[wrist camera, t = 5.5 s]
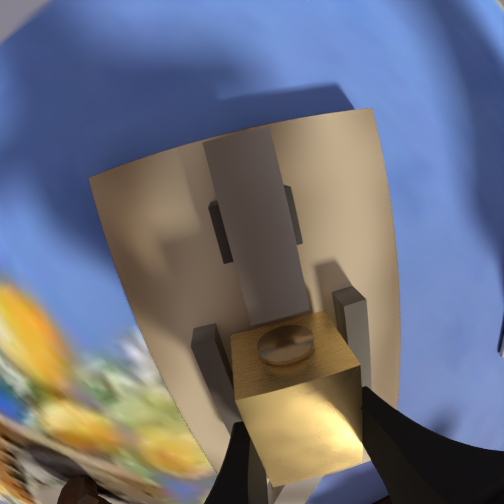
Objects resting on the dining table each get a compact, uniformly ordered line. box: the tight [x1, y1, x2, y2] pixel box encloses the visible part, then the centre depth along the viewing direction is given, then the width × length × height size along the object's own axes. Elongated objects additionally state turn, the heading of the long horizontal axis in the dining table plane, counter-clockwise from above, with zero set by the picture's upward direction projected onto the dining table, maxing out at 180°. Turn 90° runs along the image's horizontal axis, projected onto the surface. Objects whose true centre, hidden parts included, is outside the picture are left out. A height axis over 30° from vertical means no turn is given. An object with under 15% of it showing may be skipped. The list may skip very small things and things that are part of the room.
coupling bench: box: [89, 108, 401, 504], centre depth 13 cm, size 12×22×4 cm, turn 14°
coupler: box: [231, 310, 363, 487], centre depth 11 cm, size 4×7×4 cm, turn 14°
